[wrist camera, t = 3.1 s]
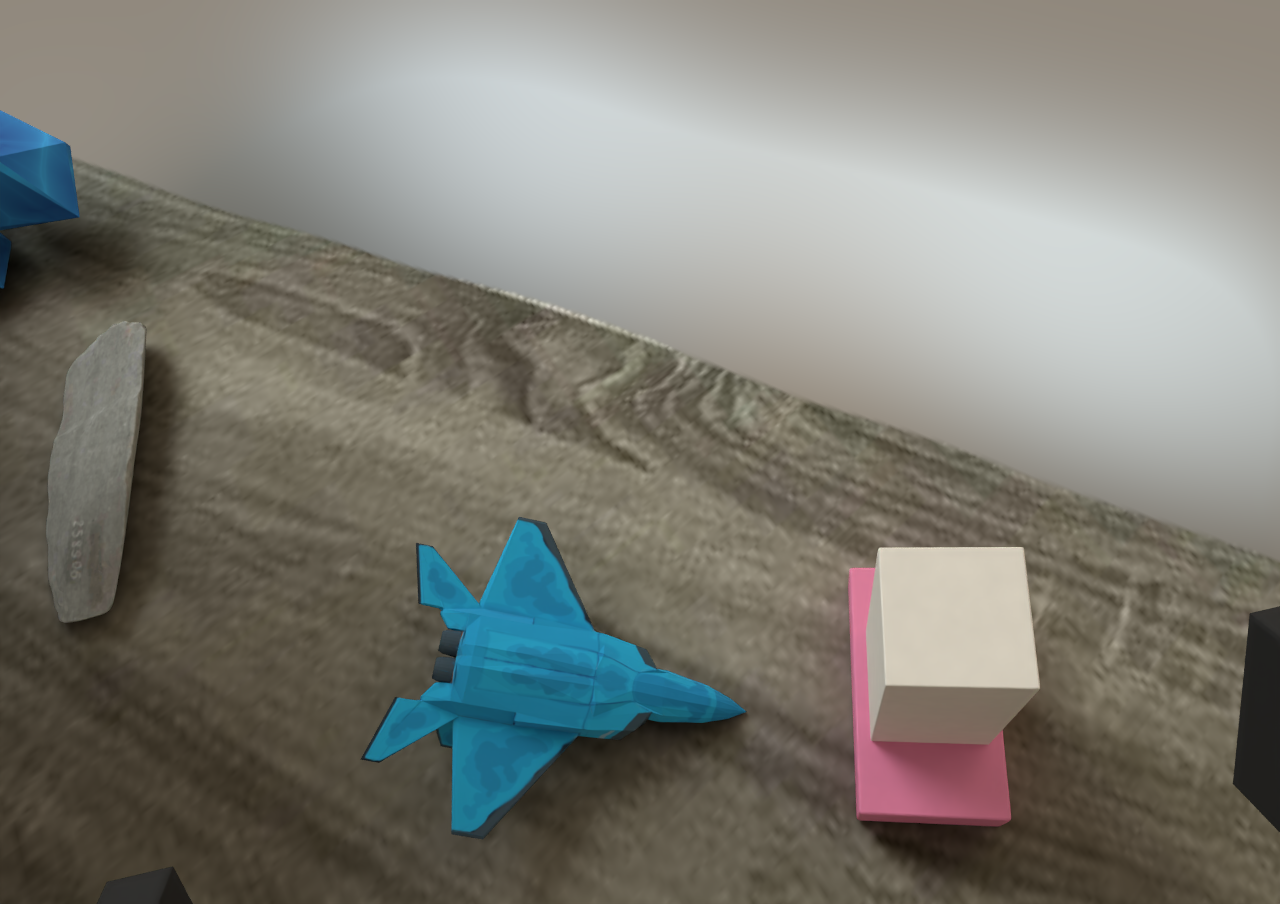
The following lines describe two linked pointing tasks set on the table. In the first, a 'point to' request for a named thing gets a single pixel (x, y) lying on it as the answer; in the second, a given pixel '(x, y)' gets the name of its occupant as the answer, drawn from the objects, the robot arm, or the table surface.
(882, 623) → the block on pink pedestal
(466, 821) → the toy airplane
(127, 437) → the stone tool
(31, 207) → the crystal
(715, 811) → the table surface
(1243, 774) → the robot arm
